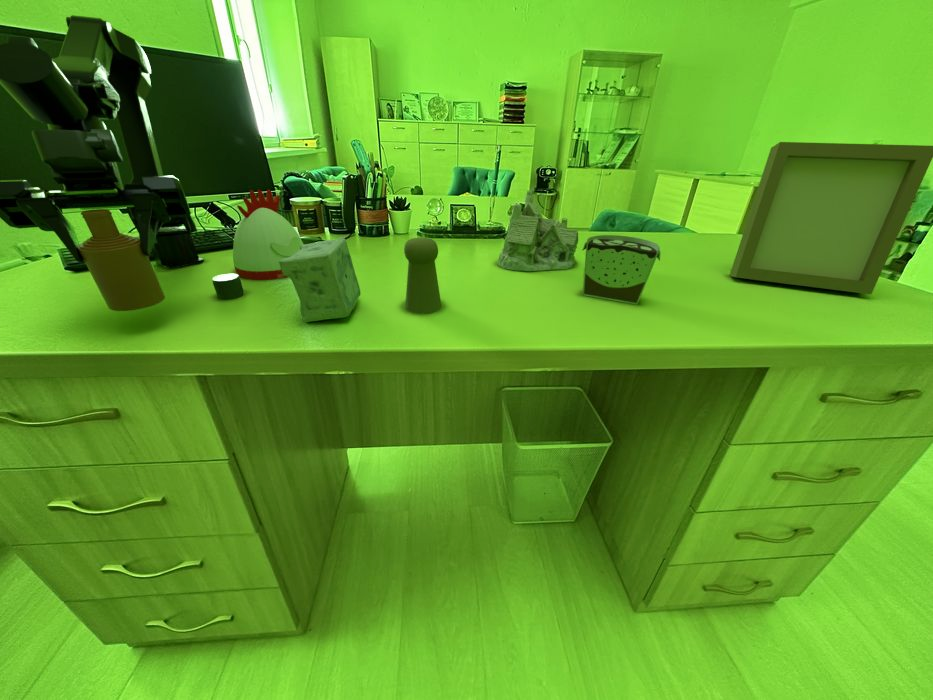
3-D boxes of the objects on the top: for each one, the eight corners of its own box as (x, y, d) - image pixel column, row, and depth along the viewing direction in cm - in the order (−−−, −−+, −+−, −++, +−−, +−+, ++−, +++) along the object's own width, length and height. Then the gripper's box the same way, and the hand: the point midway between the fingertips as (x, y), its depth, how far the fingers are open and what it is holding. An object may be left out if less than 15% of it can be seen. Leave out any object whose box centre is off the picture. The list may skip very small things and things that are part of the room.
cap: (237, 289, 66) (231, 271, 64) (248, 294, 64) (243, 276, 62) (213, 295, 63) (207, 277, 61) (224, 301, 61) (218, 282, 59)
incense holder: (313, 299, 63) (300, 237, 57) (362, 299, 63) (354, 237, 58) (292, 324, 54) (275, 254, 49) (349, 324, 54) (338, 254, 49)
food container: (647, 294, 68) (663, 239, 63) (646, 306, 63) (663, 247, 58) (580, 283, 72) (589, 231, 67) (574, 293, 67) (584, 238, 62)
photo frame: (868, 299, 68) (962, 146, 56) (733, 281, 75) (790, 141, 63) (833, 275, 80) (905, 145, 68) (720, 262, 87) (766, 141, 75)
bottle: (152, 290, 55) (115, 204, 48) (173, 299, 52) (137, 210, 46) (100, 304, 50) (51, 211, 44) (120, 315, 47) (72, 218, 41)
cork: (447, 302, 63) (446, 236, 57) (432, 316, 58) (430, 245, 52) (415, 297, 64) (411, 232, 59) (398, 310, 59) (393, 241, 54)
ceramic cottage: (487, 263, 81) (497, 190, 74) (521, 251, 93) (532, 187, 86) (552, 283, 74) (570, 205, 67) (580, 266, 86) (598, 199, 79)
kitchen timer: (324, 266, 78) (311, 189, 70) (263, 284, 68) (239, 197, 60) (284, 255, 84) (267, 184, 77) (222, 270, 74) (196, 190, 67)
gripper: (-76, 94, 37) (-48, 228, 35) (153, 105, 46) (187, 212, 44) (-1, 172, 47) (25, 281, 45) (177, 169, 56) (205, 259, 54)
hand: (114, 257), depth 47 cm, fingers closed on bottle, 6 cm apart
